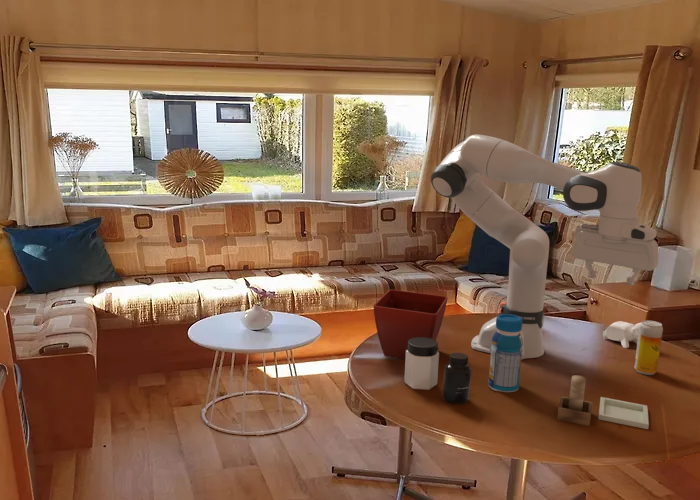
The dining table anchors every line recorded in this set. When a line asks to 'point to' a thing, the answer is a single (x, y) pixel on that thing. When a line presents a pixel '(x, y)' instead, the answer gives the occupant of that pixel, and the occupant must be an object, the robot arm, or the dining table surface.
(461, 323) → the dining table surface
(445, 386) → the supplement bottle
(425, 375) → the jar
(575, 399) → the dowel
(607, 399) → the tray
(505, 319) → the beverage bottle
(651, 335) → the beer can
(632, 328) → the white low-poly figurine
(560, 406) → the open square box
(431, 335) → the plant pot
